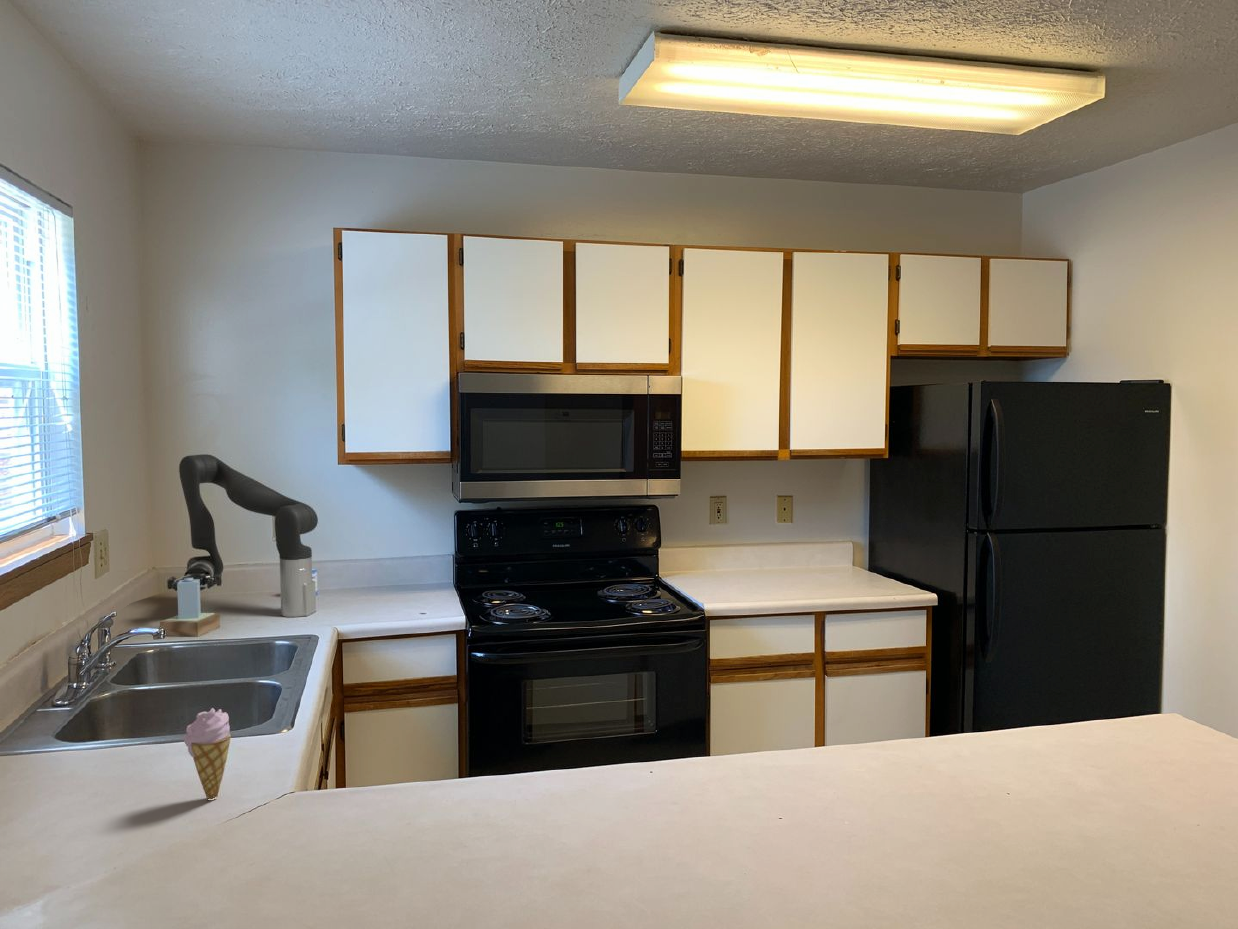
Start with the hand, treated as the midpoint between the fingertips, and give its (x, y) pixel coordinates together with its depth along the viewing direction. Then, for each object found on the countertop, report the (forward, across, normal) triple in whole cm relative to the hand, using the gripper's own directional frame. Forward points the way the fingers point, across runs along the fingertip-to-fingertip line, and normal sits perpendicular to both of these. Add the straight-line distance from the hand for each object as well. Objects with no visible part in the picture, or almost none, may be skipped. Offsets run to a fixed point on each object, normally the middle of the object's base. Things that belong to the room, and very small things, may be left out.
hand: (192, 586), depth 253 cm
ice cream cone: (+126, +16, +12) cm, 127 cm away
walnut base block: (+6, 0, +12) cm, 13 cm away
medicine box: (-33, +30, +12) cm, 46 cm away
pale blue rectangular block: (+6, 0, +8) cm, 10 cm away
